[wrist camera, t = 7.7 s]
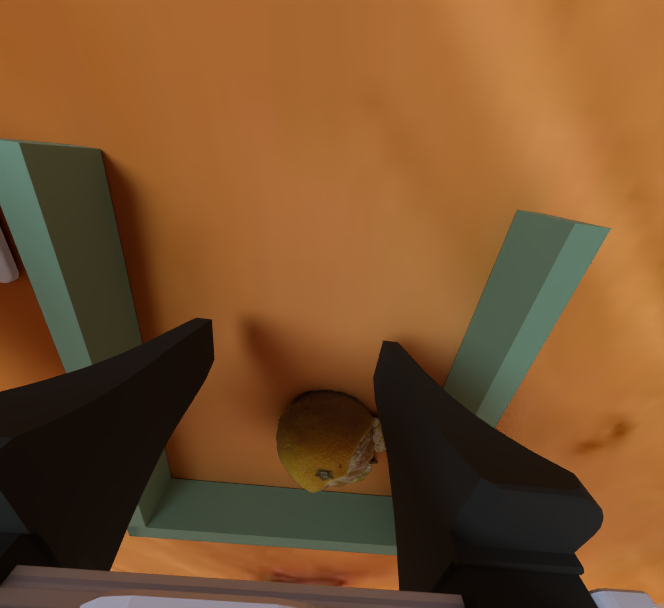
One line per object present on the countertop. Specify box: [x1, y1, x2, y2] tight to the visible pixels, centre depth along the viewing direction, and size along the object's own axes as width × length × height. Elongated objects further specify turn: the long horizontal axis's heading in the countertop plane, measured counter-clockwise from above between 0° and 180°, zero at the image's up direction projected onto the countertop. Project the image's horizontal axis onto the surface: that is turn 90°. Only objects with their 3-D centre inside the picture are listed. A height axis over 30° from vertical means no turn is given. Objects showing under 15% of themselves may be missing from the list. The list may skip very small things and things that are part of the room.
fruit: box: [276, 390, 386, 493], centre depth 16 cm, size 8×8×4 cm
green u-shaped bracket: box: [0, 138, 611, 555], centre depth 14 cm, size 19×22×3 cm
